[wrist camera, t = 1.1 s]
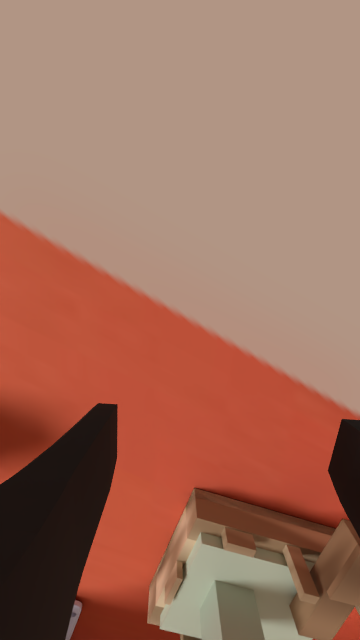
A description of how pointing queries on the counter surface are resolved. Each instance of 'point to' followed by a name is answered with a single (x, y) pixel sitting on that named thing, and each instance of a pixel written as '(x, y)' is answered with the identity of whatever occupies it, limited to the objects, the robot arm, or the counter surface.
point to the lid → (233, 595)
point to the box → (237, 544)
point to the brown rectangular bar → (331, 586)
